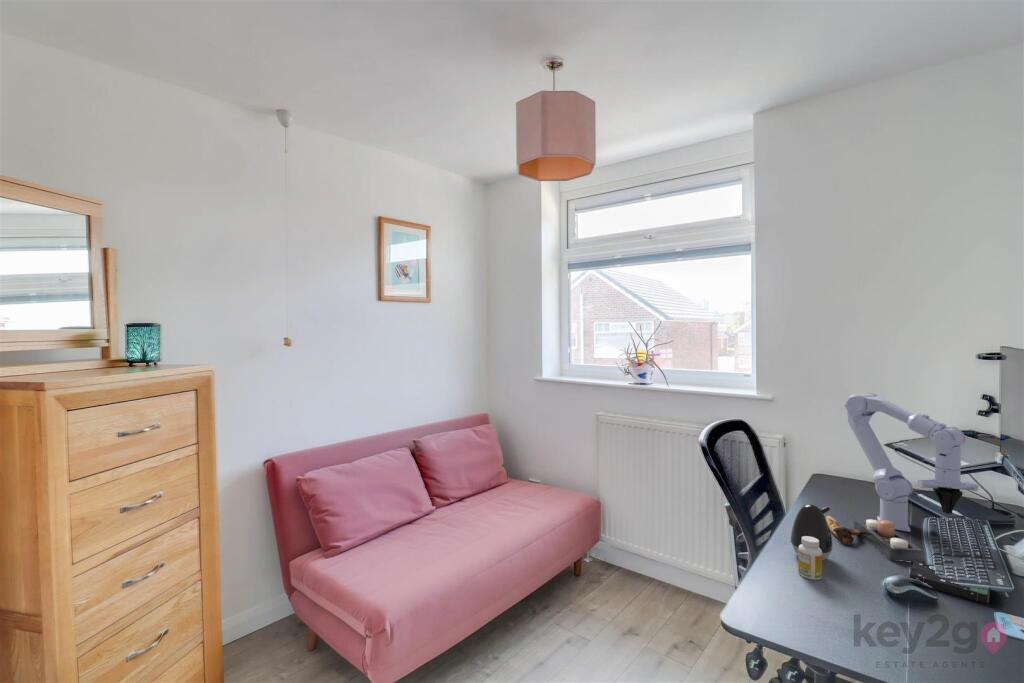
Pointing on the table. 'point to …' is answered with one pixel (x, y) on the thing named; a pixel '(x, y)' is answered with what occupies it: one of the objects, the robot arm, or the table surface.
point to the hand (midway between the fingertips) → (947, 512)
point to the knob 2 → (898, 543)
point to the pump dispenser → (812, 528)
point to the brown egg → (886, 528)
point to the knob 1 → (872, 523)
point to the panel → (888, 544)
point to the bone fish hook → (841, 531)
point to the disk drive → (946, 583)
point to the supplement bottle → (810, 558)
